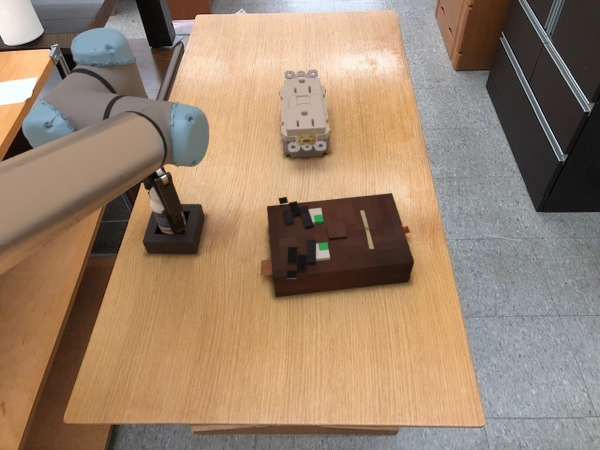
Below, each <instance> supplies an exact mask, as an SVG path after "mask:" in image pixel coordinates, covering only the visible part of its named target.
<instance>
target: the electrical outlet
mask: <svg viewBox="0 0 600 450" xmlns="http://www.w3.org/2000/svg"><path fill="white" fill-rule="evenodd" d="M306 72H307V73H306ZM283 75H284V79H283V85H284V86H282V87H280V88H279V91H278V95H279V97H280V119H281V120H280V121H281V130H280V131H279V135H280V137H281V138H282V149H283V151H282V152H283V155H284V156H285V157H286V156H288V155H289V156H290V158H291V159H297V158H315V157H322V156H323V154H324V153H326V154H329V153H330V135H331V134H332V128H331V127H330V123H329V114H328V107H327V98H326V94H327V88H326V87H325V85H323V84H321V78H320V77H319V71H318V69H315V68H314V69H309V70H307V71H304V70H298V71H297V72H295V71H294V70H286V71H284V74H283Z"/></svg>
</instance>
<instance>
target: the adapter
mask: <svg viewBox="0 0 600 450" xmlns="http://www.w3.org/2000/svg"><path fill="white" fill-rule="evenodd" d="M181 205H182V207H183V213H184V216H185V220H186V223H185V224H186V225H185V226H186V227H185V230H184V234H183V233H175V234H167V233H164V232H163V231H162V230H161V229H160V227H159V225H158V223H157V221H156V218H155V216H154V214H153V211H152V210H151V214H150V216H149V219H148V222H147V226H146V229H145V231H144V234H143V237H142V241H141V242H142V245H143V246H144V249H145V250H146V252H147V254H159V255H160V254H163V255H165V254H168V255H170V254H171V255H176V254H177V255H197V253H198V249H199V245H200V240H201V236H202V231H203V227H204V223H205V217H206V215H205V212H204V209H203V205H202V203H181Z"/></svg>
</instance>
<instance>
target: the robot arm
mask: <svg viewBox="0 0 600 450" xmlns="http://www.w3.org/2000/svg"><path fill="white" fill-rule="evenodd" d="M70 51H71V54H72V60H73V61H74V62H75V64H76V66H75V67H74V68H73V69H72V70H71V71H70V72H69V74H67V76H65V77H64V78H63V79H62V80H61V81H60V82H59V83H58V84H56V86H54V87H53V88H52V89H51V90H50V91H49V92H47V94H46V95H44V97H42V98H41V99H39V100H38V101H37V102H36V105H35V106H34V107H33V108H32V110H31V111H30V112H29V113H28V114H27V115H26V116H25V117H24V119H23V121H22V124H21V129H22V133H23V136H24V137H25V138H26V139H27V141H28V144H29V145H30V147H32V149H29V150H27V151H25V152H22V153H19V154H16V155H14V156H12V157H9V158H8V159H5V160H2V161H0V276H2V275H3V274H5V273H6V272H8V271H9V270H11V269H12V268H14V267H15V266H16V265H19V264H20V263H21V262H22V261H24V260H25V259H27V258H29V257H30V256H31V255H33V254H34V253H36V252H37V251H39V250H40V249H42V248H44V247H46V245H48V244H49V243H51V242H52V241H54V240H56V239H57V238H58V237H60V236H61V235H63V234H64V233H66V232H68V231H69V230H70V229H72V228H73V227H75V226H76V225H78V224H79V223H81V222H82V221H83V220H85V219H87V218H88V217H89V216H91V215H93V214H94V213H96V212H97V211H99V210H100V209H101V208H103V207H105V206H106V205H108V204H109V203H111V202H112V201H113V200H115V199H117V198H118V197H120V196H121V195H123V194H124V193H125V192H126V191H128V190H129V189H131V188H133V187H134V186H136V185H137V184H139V183H141V184H143V187H144V189H145V190H146V191H147V194H148V197H149V199H150V200H151V197H150V194H149V192H150V190H151V188H152V187H153V188H154V190H155V192H156V194H157V196H158V198H159V200H160V202H161V204H162V206H163V208H164V210H163V211H162V212H161V213H162V214H163V216H166V219H167V221H168V224H169V226H170V228H171V231H172V232H173V234H177V233H179V232H180V231H182V230H183V229H186V226H187V225H186V223H185V224H184V221H183V218H182V216H181V213H180V212H182V211H183V207H182V205H181V204H182V203H181V200H180V197H179V194H178V191H177V189H176V187H175V184H174V181H173V180H174V179H173V175H172V173H171V172H170V171H167V170H166V169H165V167H164V166H166V165H173V166H174V167H177V168H179V167H187V168H194V167H196V166H198V165H199V164H201V162H202V161H203V159H204V158H205V156H206V154H207V152H208V148H209V143H210V124H209V119H208V118H207V117H208V116H207V115H206V113H205V112H204V111H203V110H202V109H201V108H199V107H198V106H194V105H190V104H185V103H181V102H178V101H177V100H174V101H169V100H160V99H153V98H149V96H148V93H147V92H146V89H145V85H144V83H143V79H142V76H141V73H140V69H139V68H138V65H137V59H136V56H135V55H134V53H133V51H132V49H131V46H130V44H129V42H128V38H127V37H126V36H125V34H124V33H122V31H119V30H118V29H115V28H108V27H97V28H96V27H95V28H91V29H88V30H85V31H83V32H81V33H79V34H77V35H76V36H75V37H74V38H73V39H72V41H71V45H70ZM181 229H182V230H181ZM178 231H179V232H178Z"/></svg>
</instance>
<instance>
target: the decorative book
mask: <svg viewBox="0 0 600 450" xmlns="http://www.w3.org/2000/svg"><path fill="white" fill-rule="evenodd" d="M278 202H279V204H273V205H267V206H266V211H267V225H268V238H269V248H270V249H269V250H270V259H260V276H272V283H273V290H274V295H275V298H280V297H281V298H282V297H289V296H299V295H306V294H307V295H308V294H316V293H325V292H333V291H334V292H335V291H343V290H350V289H361V288H368V287H369V288H370V287H377V286H378V287H379V286H387V285H396V284H405V283H410V279H411V275H412V272H413V269H414V265H415V260H414V256H413V253H412V250H411V248H410V244H409V241H408V237H407V235H406V234H411V231H410V229H409V225H405V226H403V222H402V219H401V217H400V213H399V210H398V207H397V203H396V200H395V197H394V195H393V193H392V192H389V193H388V192H387V193H379V194H370V195H360V196H352V197H342V198H332V199H321V200H312V201H302V202H298V201H297V200H295V201H290V202H289V200H288V197H287V196H282V197H278Z"/></svg>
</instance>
